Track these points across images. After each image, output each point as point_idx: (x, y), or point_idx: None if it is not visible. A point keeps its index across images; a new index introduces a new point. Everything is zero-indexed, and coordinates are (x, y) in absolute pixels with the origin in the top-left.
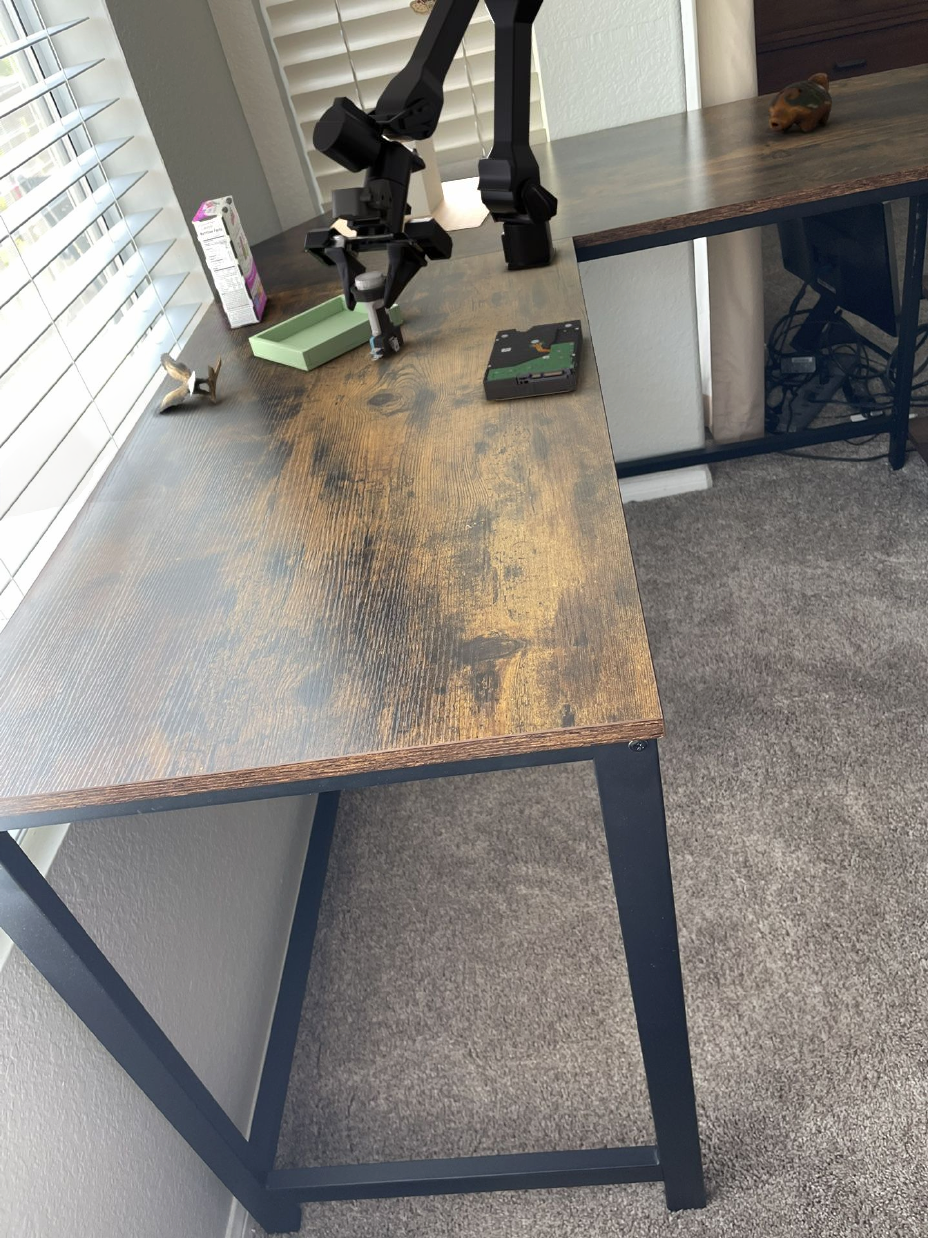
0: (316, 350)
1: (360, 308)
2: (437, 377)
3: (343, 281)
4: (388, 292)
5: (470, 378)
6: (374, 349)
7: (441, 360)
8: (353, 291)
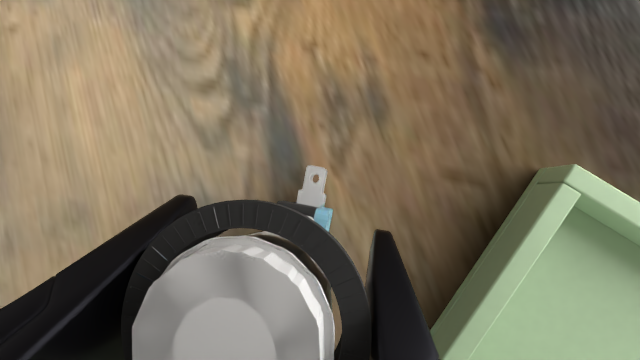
0: (533, 211)
1: None
2: (116, 54)
3: (424, 354)
4: (134, 224)
5: (35, 34)
6: (316, 197)
7: (131, 156)
8: (320, 227)
